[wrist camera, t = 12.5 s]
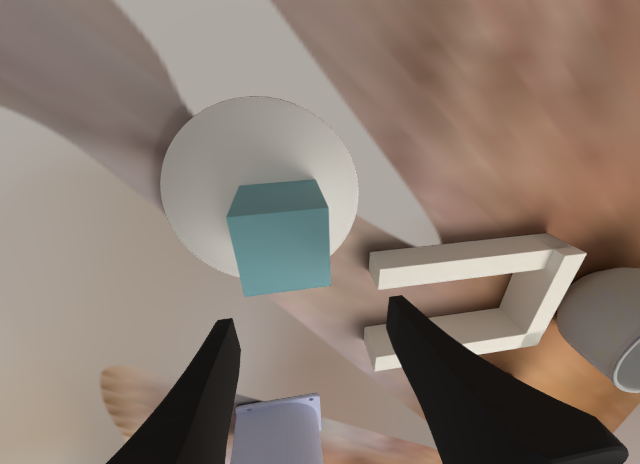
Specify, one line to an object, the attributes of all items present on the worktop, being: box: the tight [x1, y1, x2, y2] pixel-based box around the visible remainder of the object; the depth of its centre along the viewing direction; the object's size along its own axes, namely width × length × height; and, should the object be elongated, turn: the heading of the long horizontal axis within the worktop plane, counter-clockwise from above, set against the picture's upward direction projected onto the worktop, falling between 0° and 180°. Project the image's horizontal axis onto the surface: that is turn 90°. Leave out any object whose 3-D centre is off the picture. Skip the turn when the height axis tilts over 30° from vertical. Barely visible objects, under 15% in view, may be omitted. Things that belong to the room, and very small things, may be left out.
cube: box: [226, 179, 331, 297], centre depth 16 cm, size 5×5×5 cm
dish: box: [160, 96, 359, 278], centre depth 18 cm, size 13×13×1 cm
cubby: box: [364, 233, 587, 371], centre depth 24 cm, size 17×11×4 cm, turn 92°
